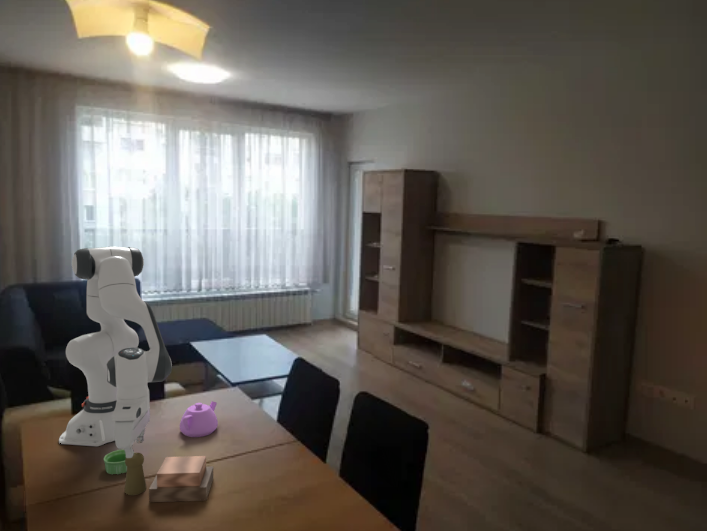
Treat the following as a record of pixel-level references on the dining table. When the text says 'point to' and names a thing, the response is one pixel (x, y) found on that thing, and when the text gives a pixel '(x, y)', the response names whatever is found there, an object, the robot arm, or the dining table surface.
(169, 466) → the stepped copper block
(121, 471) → the ramekin
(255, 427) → the dining table surface
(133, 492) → the cork
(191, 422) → the teapot
